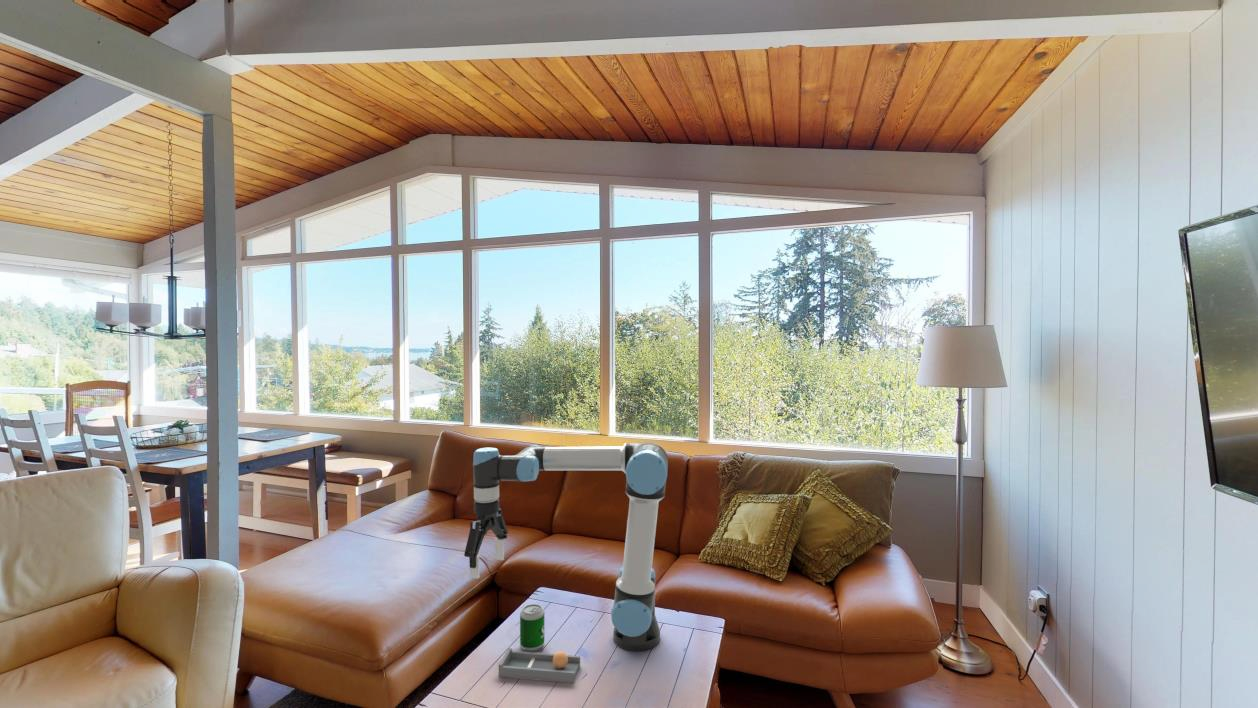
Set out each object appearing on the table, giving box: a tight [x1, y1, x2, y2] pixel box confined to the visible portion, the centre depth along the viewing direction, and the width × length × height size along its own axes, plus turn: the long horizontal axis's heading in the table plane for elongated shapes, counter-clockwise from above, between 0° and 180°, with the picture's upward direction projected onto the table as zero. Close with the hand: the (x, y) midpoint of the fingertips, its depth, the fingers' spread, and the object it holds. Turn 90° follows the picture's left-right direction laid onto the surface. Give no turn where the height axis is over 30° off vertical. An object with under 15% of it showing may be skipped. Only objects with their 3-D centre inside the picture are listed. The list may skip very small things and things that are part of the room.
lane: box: [498, 647, 581, 684], centre depth 157 cm, size 22×8×4 cm, turn 83°
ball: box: [553, 650, 568, 669], centre depth 156 cm, size 4×4×4 cm
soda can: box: [519, 603, 545, 653], centre depth 169 cm, size 8×8×12 cm
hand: (487, 568), depth 165 cm, fingers open, 13 cm apart
